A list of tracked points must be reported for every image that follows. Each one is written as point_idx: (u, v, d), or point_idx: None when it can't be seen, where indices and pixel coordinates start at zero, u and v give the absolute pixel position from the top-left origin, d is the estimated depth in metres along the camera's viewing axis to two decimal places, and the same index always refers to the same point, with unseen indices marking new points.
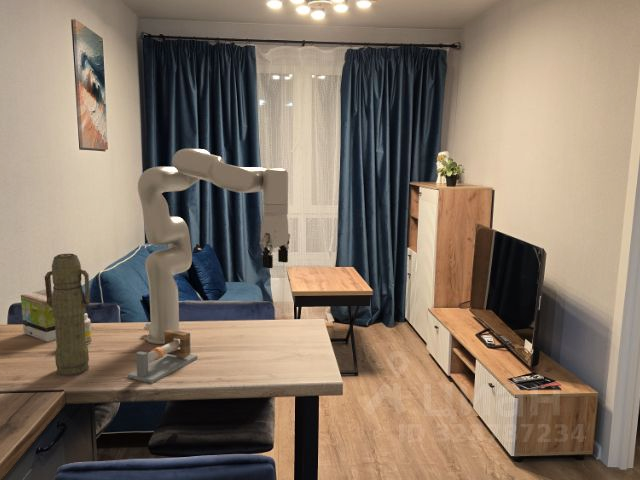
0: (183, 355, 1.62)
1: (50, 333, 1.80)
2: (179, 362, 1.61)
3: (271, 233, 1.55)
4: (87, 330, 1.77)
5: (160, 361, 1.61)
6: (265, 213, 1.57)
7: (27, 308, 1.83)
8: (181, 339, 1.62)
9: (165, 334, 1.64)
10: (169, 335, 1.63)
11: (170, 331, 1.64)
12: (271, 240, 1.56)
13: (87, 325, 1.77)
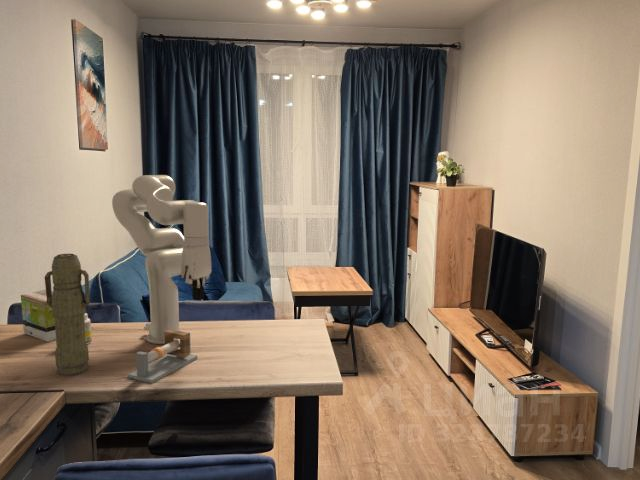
0: (183, 355, 1.62)
1: (50, 333, 1.80)
2: (179, 362, 1.61)
3: (190, 265, 1.60)
4: (87, 330, 1.77)
5: (160, 361, 1.61)
6: (185, 246, 1.61)
7: (27, 308, 1.83)
8: (181, 339, 1.62)
9: (165, 334, 1.64)
10: (169, 335, 1.63)
11: (170, 331, 1.64)
12: (190, 272, 1.60)
13: (87, 325, 1.77)
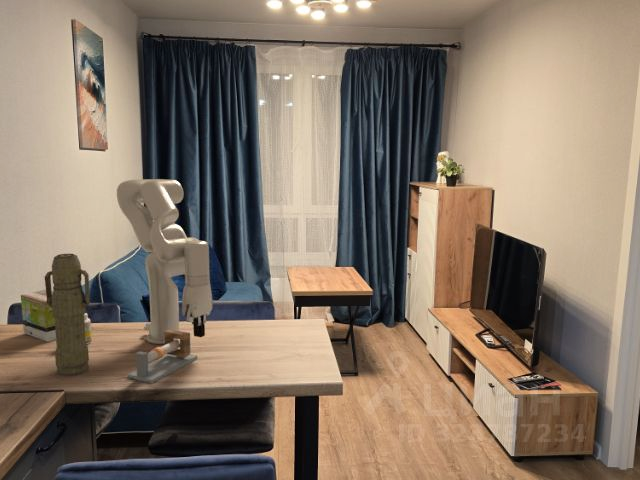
0: (183, 355, 1.62)
1: (50, 333, 1.80)
2: (179, 362, 1.61)
3: (191, 304, 1.61)
4: (87, 330, 1.77)
5: (160, 361, 1.61)
6: (186, 284, 1.63)
7: (27, 308, 1.83)
8: (181, 339, 1.62)
9: (165, 334, 1.64)
10: (169, 335, 1.63)
11: (170, 331, 1.64)
12: (191, 311, 1.62)
13: (87, 325, 1.77)
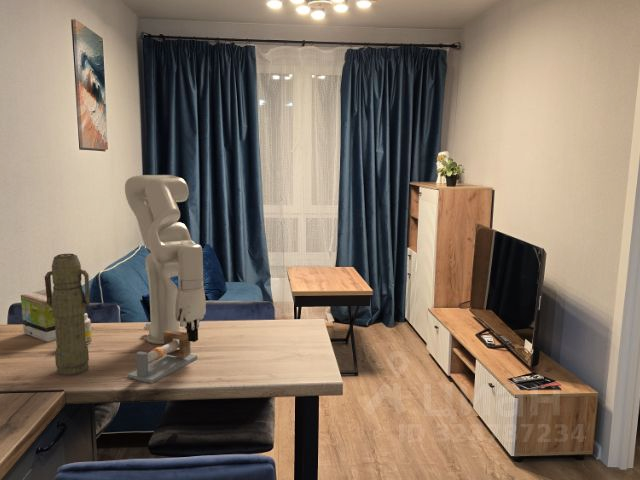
0: (182, 355, 1.62)
1: (50, 333, 1.80)
2: (179, 362, 1.61)
3: (184, 308, 1.59)
4: (87, 330, 1.77)
5: (160, 361, 1.61)
6: (179, 288, 1.60)
7: (27, 308, 1.83)
8: (180, 339, 1.61)
9: (164, 335, 1.64)
10: (168, 335, 1.63)
11: (169, 331, 1.64)
12: (185, 315, 1.59)
13: (87, 325, 1.77)
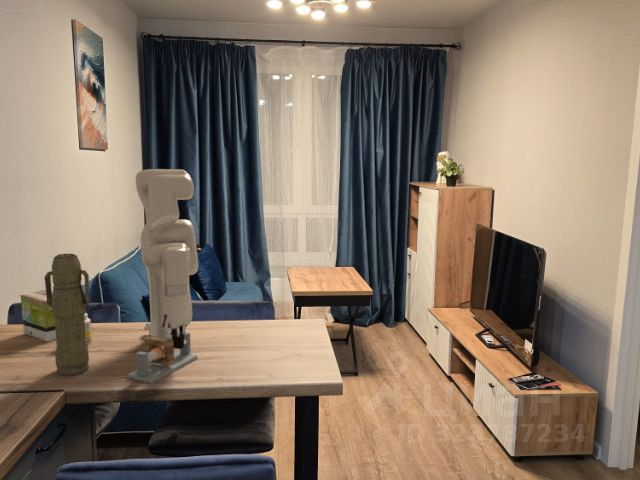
0: (167, 363, 1.56)
1: (50, 333, 1.80)
2: (179, 362, 1.61)
3: (169, 314, 1.53)
4: (87, 330, 1.77)
5: None
6: (164, 293, 1.54)
7: (27, 308, 1.83)
8: (165, 346, 1.55)
9: (149, 341, 1.57)
10: (153, 342, 1.57)
11: (154, 338, 1.58)
12: (169, 322, 1.53)
13: (87, 325, 1.77)
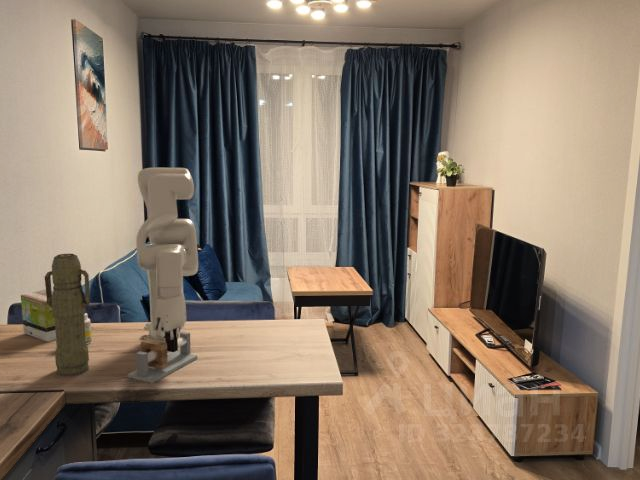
0: (161, 367, 1.53)
1: (50, 333, 1.80)
2: (179, 362, 1.61)
3: (162, 317, 1.50)
4: (87, 330, 1.77)
5: None
6: (157, 296, 1.52)
7: (27, 308, 1.83)
8: (158, 350, 1.53)
9: (142, 345, 1.55)
10: (146, 345, 1.54)
11: (147, 341, 1.55)
12: (163, 324, 1.50)
13: (87, 325, 1.77)
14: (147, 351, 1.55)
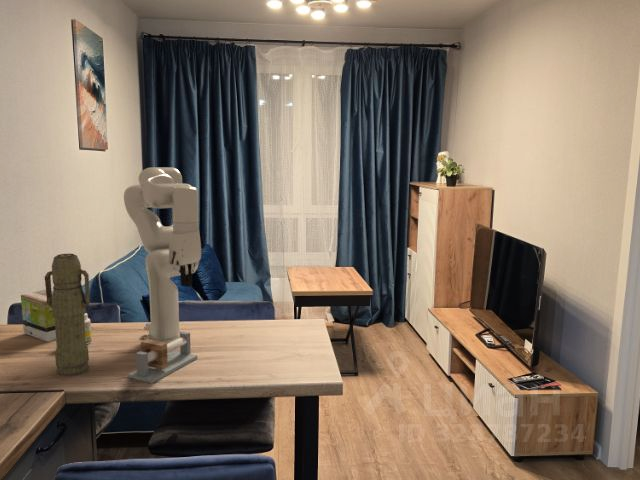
0: (161, 367, 1.53)
1: (50, 333, 1.80)
2: (179, 362, 1.61)
3: (178, 251, 1.56)
4: (87, 330, 1.77)
5: None
6: (174, 231, 1.57)
7: (27, 308, 1.83)
8: (158, 350, 1.53)
9: (142, 345, 1.55)
10: (146, 345, 1.54)
11: (147, 341, 1.55)
12: (178, 258, 1.56)
13: (87, 325, 1.77)
14: (147, 351, 1.55)
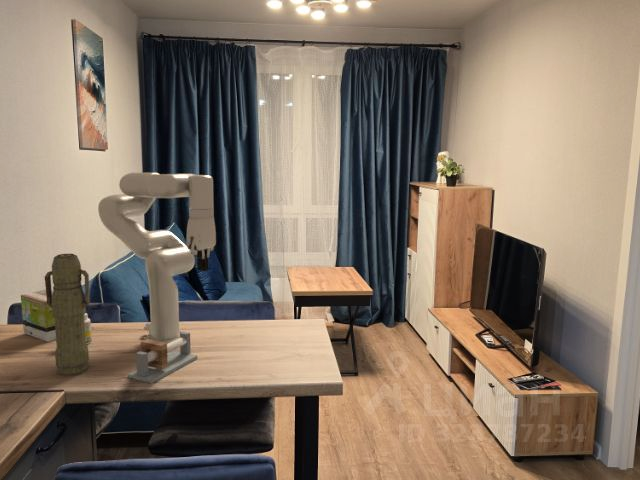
0: (161, 367, 1.53)
1: (50, 333, 1.80)
2: (179, 362, 1.61)
3: (195, 236, 1.64)
4: (87, 330, 1.77)
5: None
6: (191, 217, 1.65)
7: (27, 308, 1.83)
8: (158, 350, 1.53)
9: (142, 345, 1.55)
10: (146, 345, 1.54)
11: (147, 341, 1.55)
12: (196, 243, 1.64)
13: (87, 325, 1.77)
14: (147, 351, 1.55)
